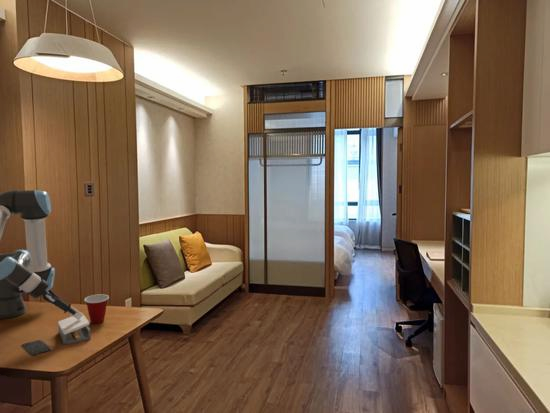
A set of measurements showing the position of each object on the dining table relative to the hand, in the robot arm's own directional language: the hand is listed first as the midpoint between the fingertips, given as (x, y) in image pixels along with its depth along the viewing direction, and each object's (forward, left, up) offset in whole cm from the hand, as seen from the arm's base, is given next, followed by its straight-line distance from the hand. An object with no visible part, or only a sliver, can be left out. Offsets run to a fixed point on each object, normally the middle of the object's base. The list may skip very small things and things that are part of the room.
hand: (80, 317), depth 164 cm
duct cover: (0, -3, -3) cm, 4 cm away
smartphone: (+4, -17, -8) cm, 19 cm away
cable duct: (0, -3, -8) cm, 8 cm away
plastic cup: (-13, +9, -8) cm, 18 cm away
